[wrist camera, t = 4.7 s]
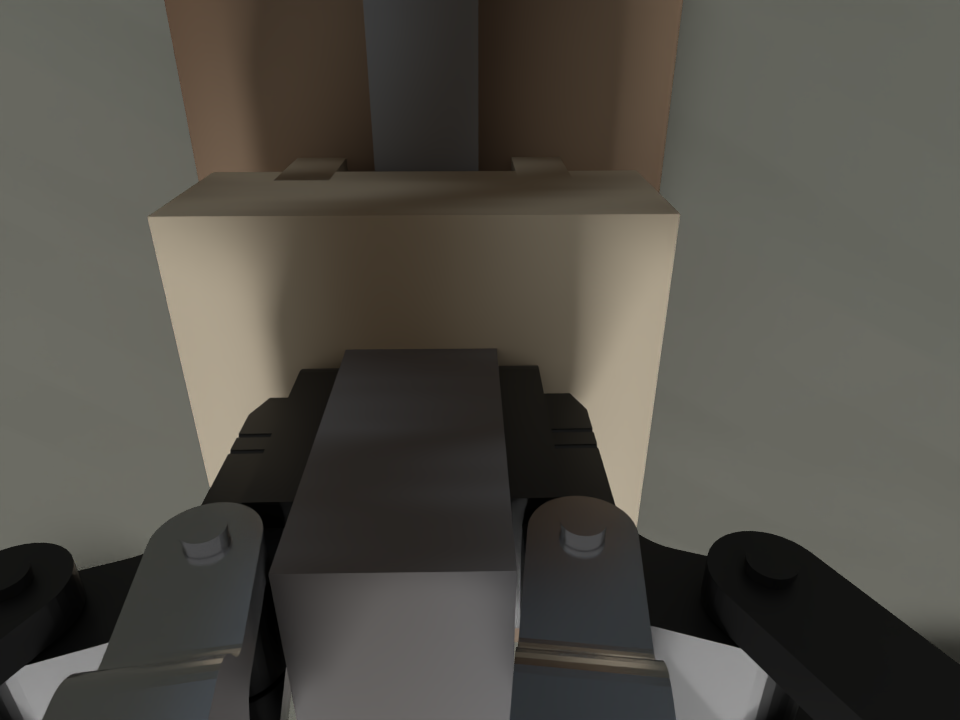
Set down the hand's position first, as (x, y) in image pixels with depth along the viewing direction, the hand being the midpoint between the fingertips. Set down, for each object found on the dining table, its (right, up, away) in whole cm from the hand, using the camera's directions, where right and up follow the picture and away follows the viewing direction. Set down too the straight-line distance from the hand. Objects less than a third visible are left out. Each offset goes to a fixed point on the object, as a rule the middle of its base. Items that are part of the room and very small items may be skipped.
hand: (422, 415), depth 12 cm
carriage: (0, +2, +4) cm, 4 cm away
